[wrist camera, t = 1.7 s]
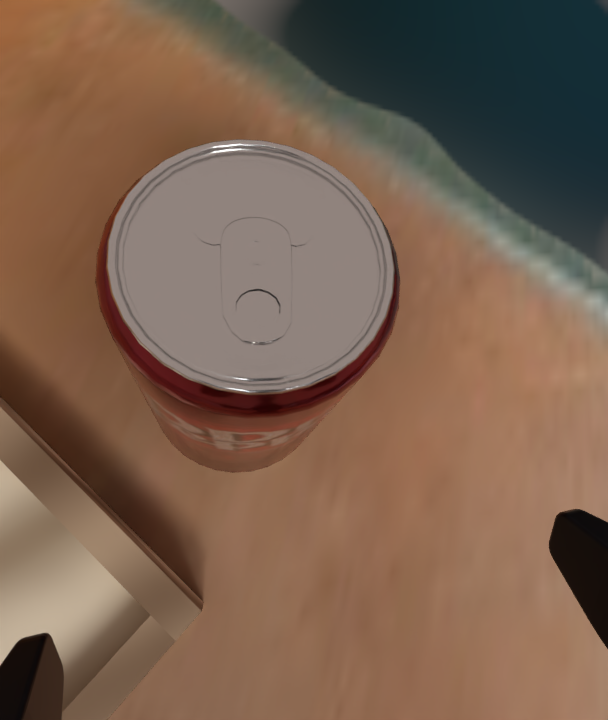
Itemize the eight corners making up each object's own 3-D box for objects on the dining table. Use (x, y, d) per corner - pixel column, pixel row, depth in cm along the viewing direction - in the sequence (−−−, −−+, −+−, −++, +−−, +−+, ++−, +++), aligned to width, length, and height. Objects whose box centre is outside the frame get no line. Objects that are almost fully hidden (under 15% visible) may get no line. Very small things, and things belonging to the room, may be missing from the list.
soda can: (163, 311, 24) (113, 107, 12) (318, 323, 25) (402, 146, 13) (144, 471, 21) (61, 400, 10) (316, 477, 22) (417, 418, 11)
